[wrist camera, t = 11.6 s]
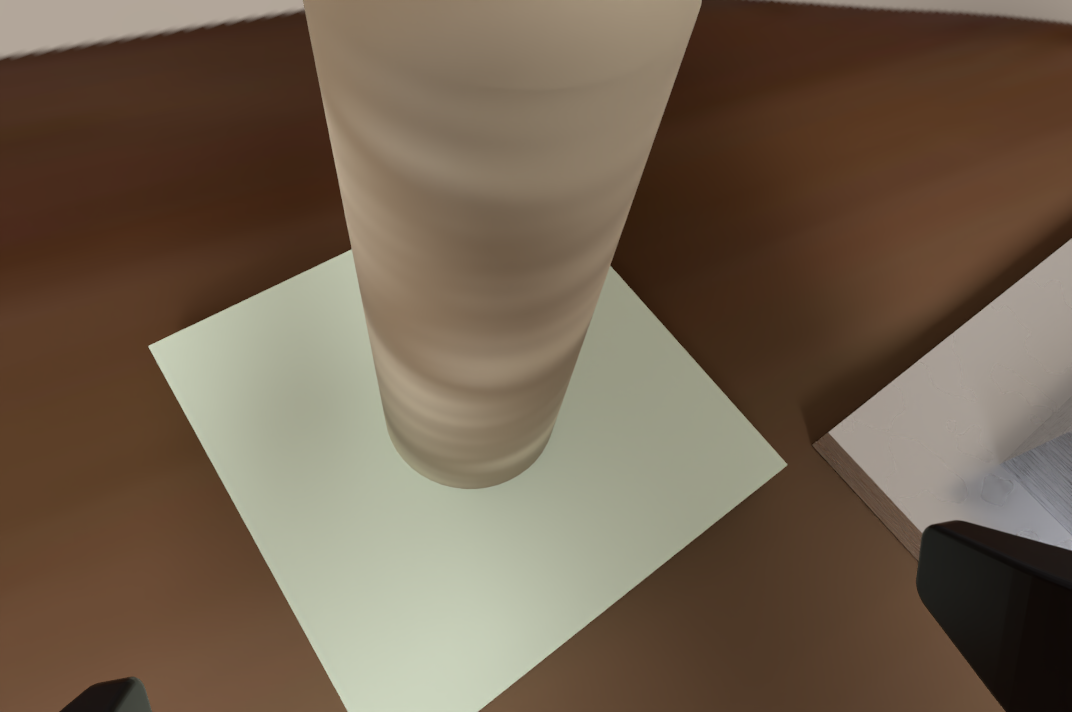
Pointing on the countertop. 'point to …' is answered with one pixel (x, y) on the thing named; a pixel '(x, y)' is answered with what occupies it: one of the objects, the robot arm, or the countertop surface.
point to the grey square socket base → (975, 423)
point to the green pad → (452, 490)
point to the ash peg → (487, 200)
